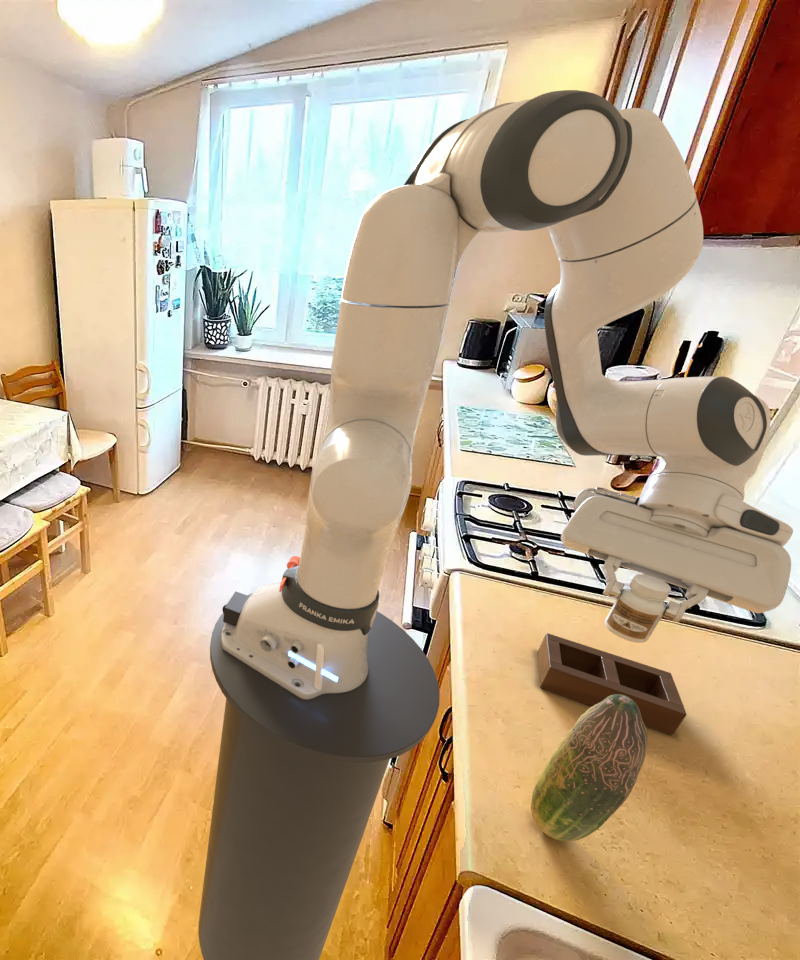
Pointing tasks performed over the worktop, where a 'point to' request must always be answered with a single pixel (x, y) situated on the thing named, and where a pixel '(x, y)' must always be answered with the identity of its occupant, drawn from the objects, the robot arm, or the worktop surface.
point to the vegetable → (591, 770)
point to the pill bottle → (638, 608)
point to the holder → (609, 681)
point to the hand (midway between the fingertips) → (640, 607)
